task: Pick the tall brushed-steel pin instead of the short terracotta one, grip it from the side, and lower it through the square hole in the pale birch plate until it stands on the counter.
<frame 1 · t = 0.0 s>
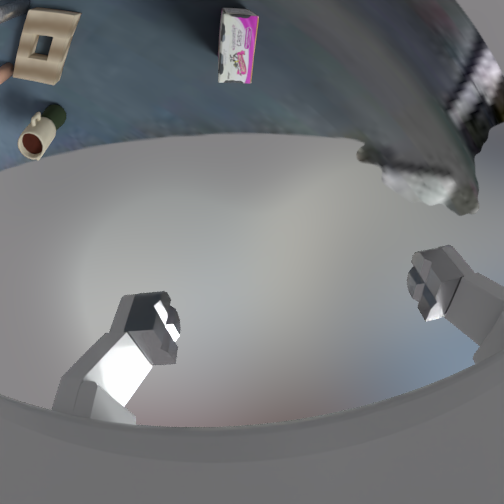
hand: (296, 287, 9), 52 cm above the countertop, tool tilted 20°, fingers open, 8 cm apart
character mug: (56, 113, 46), on the countertop
hole plate: (46, 43, 31), on the countertop
steel pin: (23, 6, 21), on the countertop
terracotta pin: (8, 70, 32), on the countertop
candy bar box: (232, 32, 40), on the countertop
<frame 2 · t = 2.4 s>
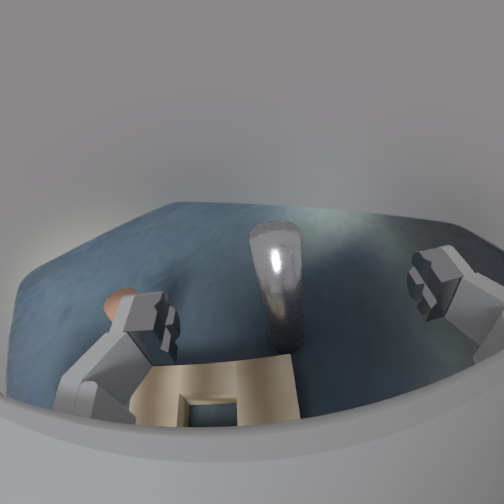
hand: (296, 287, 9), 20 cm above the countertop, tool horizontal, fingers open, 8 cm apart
hole plate: (215, 428, 23), on the countertop
steel pin: (286, 338, 30), on the countertop
terracotta pin: (153, 351, 31), on the countertop
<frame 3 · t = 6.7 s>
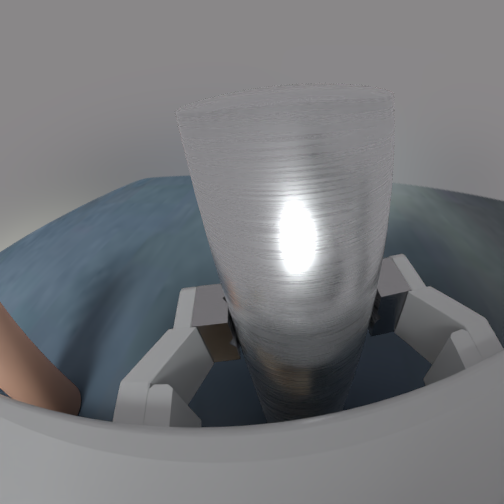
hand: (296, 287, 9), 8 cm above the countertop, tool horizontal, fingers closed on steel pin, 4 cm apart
steel pin: (303, 408, 13), on the countertop, touching gripper
terracotta pin: (60, 404, 14), on the countertop
when the fingers open (9 cm above the countertop, at t = 12.9 s): steel pin stays where it is, resting in hole plate.
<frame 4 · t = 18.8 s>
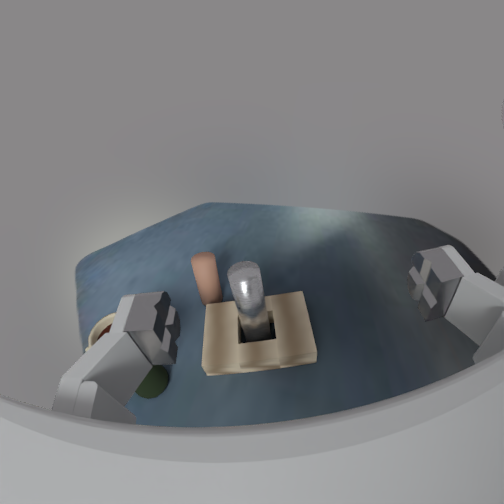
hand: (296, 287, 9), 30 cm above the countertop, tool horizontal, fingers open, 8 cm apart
character mug: (152, 383, 38), on the countertop
hole plate: (258, 338, 43), on the countertop
steel pin: (258, 338, 43), resting in hole plate
terracotta pin: (212, 298, 51), on the countertop, tilted 5°
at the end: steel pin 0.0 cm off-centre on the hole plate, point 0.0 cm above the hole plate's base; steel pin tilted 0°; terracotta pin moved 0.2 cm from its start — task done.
